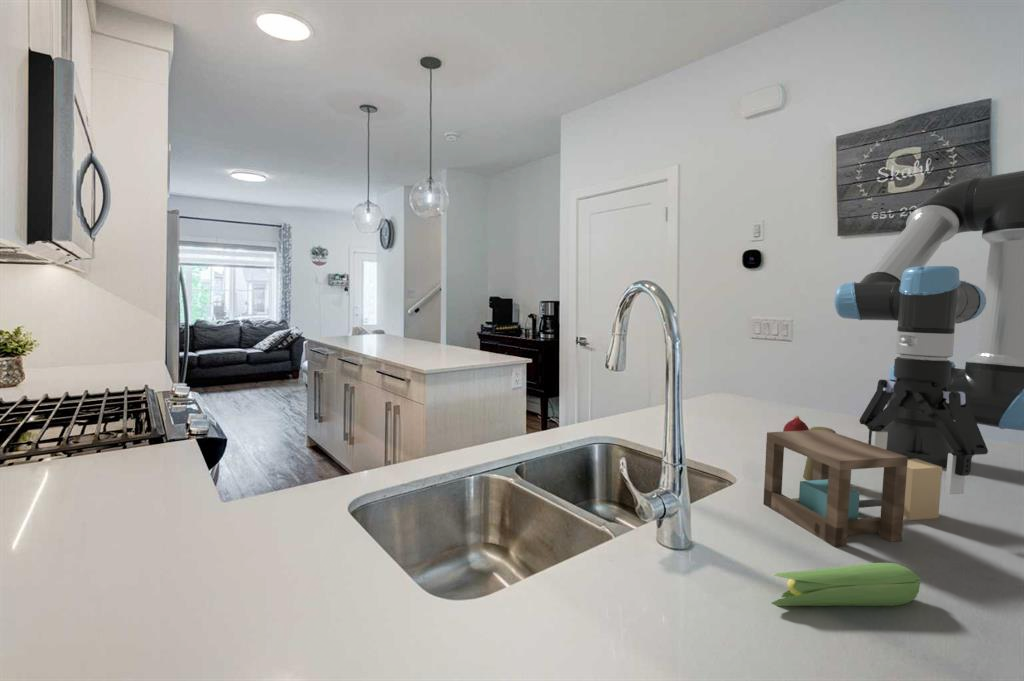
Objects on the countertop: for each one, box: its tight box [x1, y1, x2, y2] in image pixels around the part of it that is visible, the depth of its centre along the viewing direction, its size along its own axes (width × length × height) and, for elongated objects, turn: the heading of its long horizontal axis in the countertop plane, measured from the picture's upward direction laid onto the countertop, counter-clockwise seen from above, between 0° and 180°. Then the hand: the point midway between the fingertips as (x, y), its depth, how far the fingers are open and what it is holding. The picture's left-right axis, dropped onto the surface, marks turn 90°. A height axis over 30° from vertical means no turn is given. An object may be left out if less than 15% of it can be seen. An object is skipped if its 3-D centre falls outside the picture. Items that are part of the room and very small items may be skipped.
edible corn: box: [770, 562, 921, 607], centre depth 61 cm, size 5×20×5 cm
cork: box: [802, 426, 837, 481], centre depth 102 cm, size 6×6×11 cm
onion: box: [782, 415, 810, 432], centre depth 125 cm, size 6×6×8 cm
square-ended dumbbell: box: [798, 459, 943, 521], centre depth 84 cm, size 23×6×9 cm, turn 100°
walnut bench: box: [763, 429, 908, 548], centre depth 83 cm, size 12×16×13 cm
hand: (912, 478), depth 86 cm, fingers open, 13 cm apart
